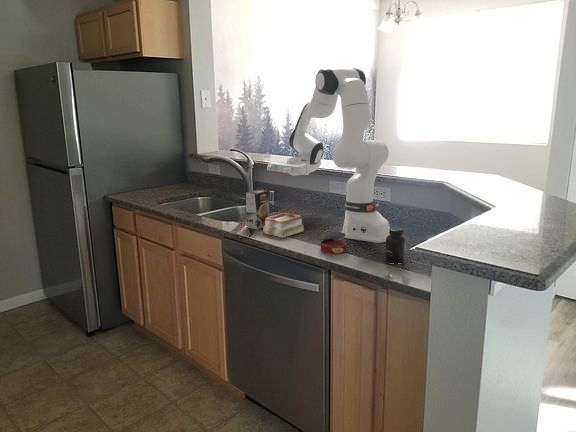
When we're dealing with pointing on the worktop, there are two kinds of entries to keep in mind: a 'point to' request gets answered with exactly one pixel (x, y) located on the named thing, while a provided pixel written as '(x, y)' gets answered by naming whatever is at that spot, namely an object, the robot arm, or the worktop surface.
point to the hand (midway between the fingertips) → (275, 169)
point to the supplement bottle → (395, 246)
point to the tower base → (283, 232)
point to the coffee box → (257, 208)
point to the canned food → (333, 243)
